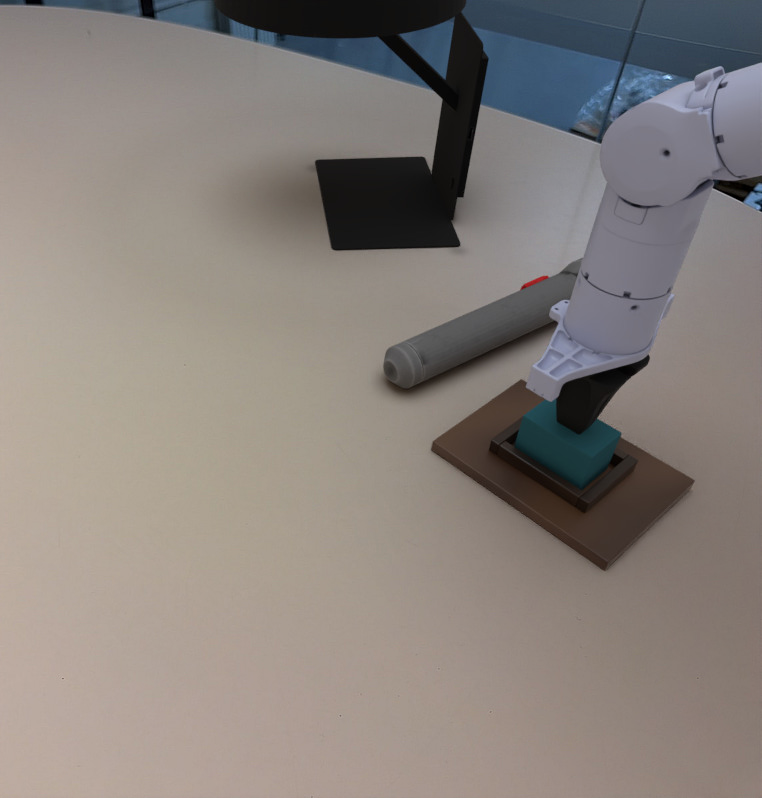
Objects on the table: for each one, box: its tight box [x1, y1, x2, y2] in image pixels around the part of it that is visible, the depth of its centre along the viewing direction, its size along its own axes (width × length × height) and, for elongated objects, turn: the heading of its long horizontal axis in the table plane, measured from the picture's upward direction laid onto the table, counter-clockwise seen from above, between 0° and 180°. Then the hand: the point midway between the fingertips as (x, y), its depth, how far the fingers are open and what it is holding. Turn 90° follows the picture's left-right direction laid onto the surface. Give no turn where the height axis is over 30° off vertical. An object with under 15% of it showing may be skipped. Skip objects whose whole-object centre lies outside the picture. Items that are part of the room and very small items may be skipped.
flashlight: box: [382, 257, 583, 389], centre depth 77 cm, size 5×28×5 cm
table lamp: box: [213, 0, 490, 251], centre depth 85 cm, size 26×28×40 cm
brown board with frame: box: [430, 378, 696, 571], centre depth 65 cm, size 16×12×2 cm
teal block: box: [514, 399, 623, 490], centre depth 63 cm, size 6×4×4 cm, turn 39°
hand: (572, 424), depth 62 cm, fingers closed, pressing on teal block
